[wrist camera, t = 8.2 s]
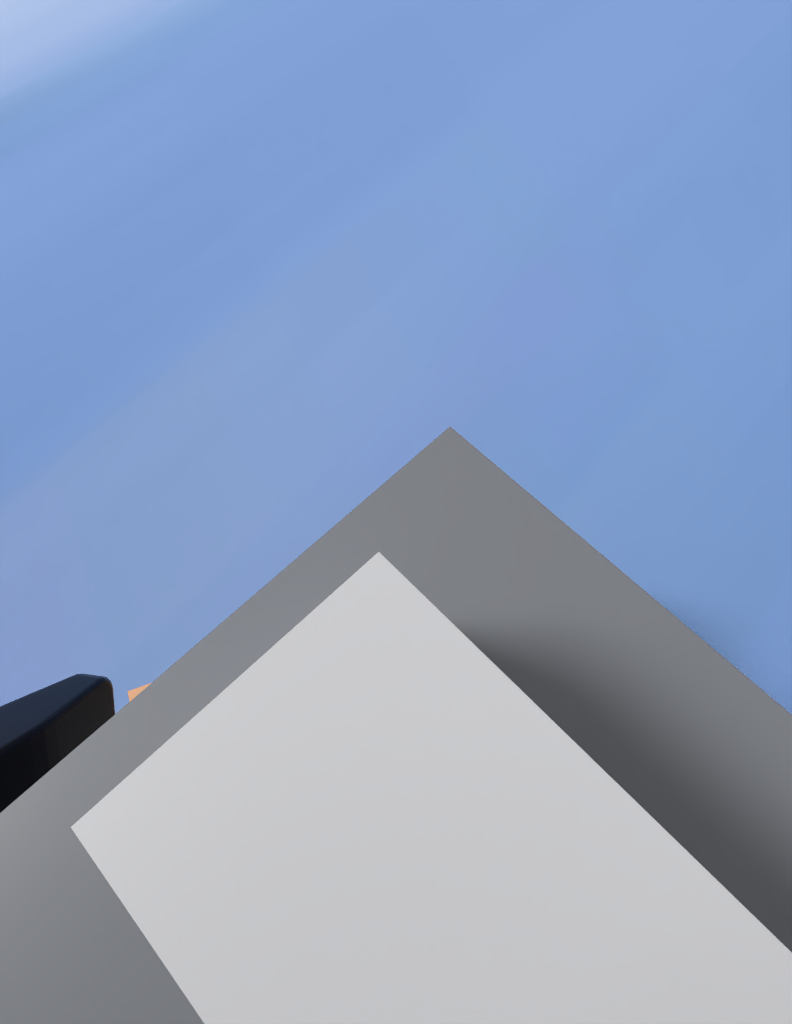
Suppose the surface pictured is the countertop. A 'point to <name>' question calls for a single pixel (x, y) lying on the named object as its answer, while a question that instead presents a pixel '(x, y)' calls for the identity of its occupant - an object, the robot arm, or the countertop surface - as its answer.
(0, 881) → the grey pedestal with block
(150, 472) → the countertop surface
